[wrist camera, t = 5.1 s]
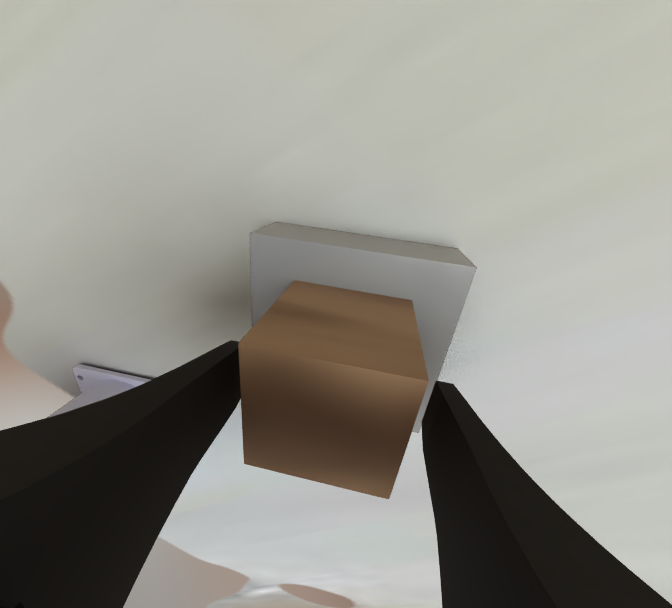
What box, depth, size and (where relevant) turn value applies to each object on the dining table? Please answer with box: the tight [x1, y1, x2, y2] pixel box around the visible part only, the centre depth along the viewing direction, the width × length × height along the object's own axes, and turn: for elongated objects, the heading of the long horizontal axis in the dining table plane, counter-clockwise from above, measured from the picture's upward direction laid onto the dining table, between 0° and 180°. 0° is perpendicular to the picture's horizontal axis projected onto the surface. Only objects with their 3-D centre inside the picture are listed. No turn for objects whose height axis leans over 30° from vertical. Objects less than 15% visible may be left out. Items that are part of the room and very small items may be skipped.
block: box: [238, 280, 429, 499], centre depth 10 cm, size 5×5×5 cm
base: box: [250, 222, 477, 433], centre depth 14 cm, size 9×9×3 cm
